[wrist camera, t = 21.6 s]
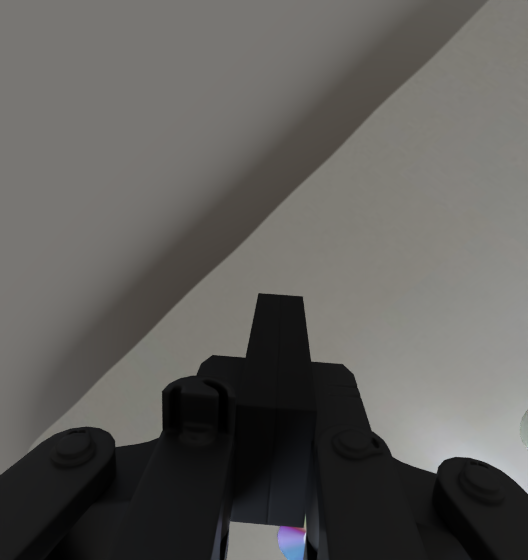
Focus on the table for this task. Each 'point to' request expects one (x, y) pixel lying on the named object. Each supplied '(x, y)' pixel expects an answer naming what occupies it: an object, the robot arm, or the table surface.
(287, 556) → the cd
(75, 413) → the table surface
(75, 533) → the robot arm
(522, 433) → the reusable coffee cup
